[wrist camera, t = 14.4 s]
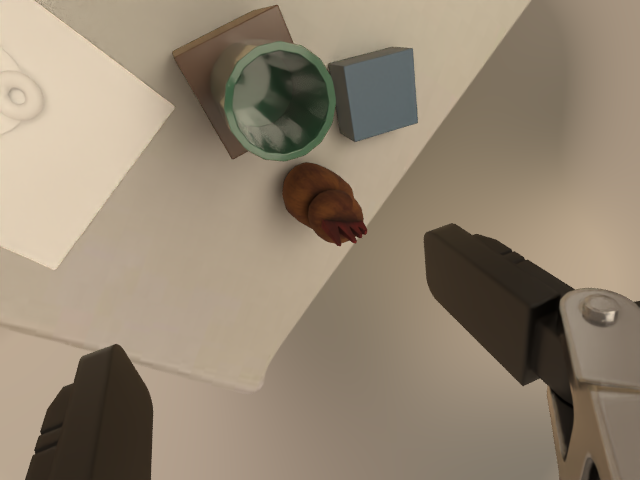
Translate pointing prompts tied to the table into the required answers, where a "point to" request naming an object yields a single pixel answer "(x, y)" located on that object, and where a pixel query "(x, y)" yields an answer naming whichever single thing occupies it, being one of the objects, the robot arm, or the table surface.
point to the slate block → (375, 92)
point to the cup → (273, 97)
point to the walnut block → (206, 49)
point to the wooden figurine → (323, 203)
